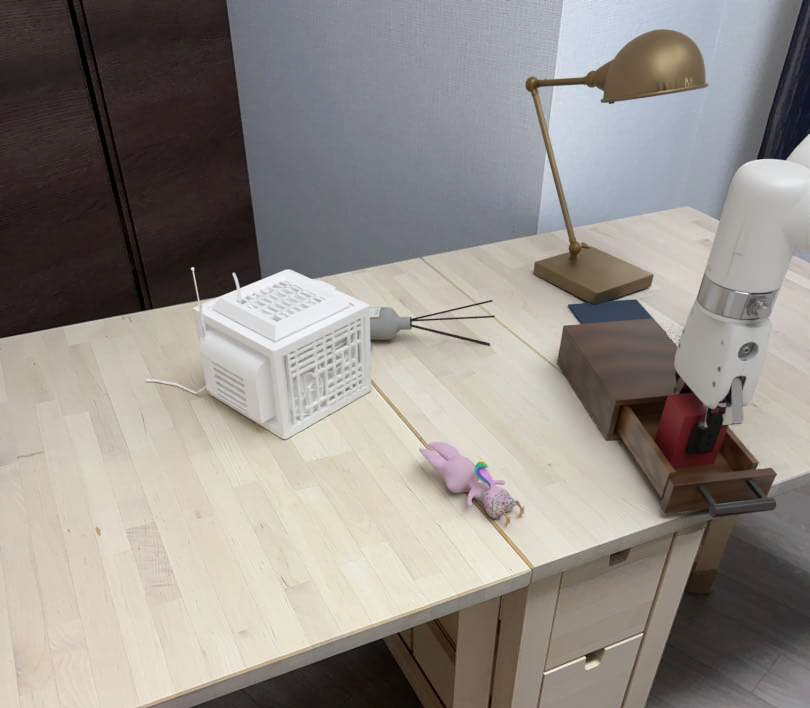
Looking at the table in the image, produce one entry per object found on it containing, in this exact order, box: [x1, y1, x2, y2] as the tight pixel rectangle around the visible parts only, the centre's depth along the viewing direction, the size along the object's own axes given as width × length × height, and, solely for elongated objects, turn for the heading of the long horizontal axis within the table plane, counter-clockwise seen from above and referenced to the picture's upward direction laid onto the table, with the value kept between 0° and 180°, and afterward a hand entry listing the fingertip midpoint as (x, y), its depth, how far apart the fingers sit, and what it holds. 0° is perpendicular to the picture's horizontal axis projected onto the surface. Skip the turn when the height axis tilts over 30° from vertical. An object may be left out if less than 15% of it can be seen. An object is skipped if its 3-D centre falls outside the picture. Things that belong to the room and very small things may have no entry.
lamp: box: [525, 28, 709, 305], centre depth 121 cm, size 15×34×37 cm, turn 34°
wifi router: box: [145, 266, 372, 440], centre depth 99 cm, size 25×22×18 cm
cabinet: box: [556, 317, 678, 442], centre depth 102 cm, size 20×14×6 cm
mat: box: [567, 298, 668, 335], centre depth 120 cm, size 12×12×1 cm
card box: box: [654, 393, 730, 468], centre depth 88 cm, size 6×4×8 cm
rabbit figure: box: [418, 441, 526, 528], centre depth 86 cm, size 6×6×15 cm
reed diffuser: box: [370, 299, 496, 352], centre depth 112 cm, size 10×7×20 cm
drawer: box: [615, 401, 778, 518], centre depth 89 cm, size 23×12×4 cm, turn 10°
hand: (688, 437), depth 89 cm, fingers closed on card box, 4 cm apart
